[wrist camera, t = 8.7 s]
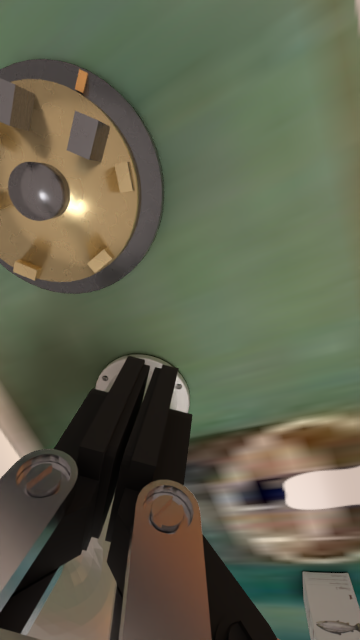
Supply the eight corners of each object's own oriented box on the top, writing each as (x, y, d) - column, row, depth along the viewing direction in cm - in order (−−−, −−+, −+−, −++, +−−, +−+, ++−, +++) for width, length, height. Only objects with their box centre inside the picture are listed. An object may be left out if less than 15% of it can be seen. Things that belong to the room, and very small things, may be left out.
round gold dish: (112, 301, 37) (97, 317, 33) (-38, 239, 37) (-75, 248, 32) (167, 132, 30) (157, 123, 26) (-19, 51, 29) (-63, 27, 25)
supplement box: (348, 571, 53) (384, 680, 41) (346, 598, 55) (380, 709, 44) (301, 569, 54) (322, 675, 42) (301, 596, 56) (322, 703, 45)
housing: (161, 297, 38) (158, 302, 37) (-16, 281, 40) (-26, 285, 39) (168, 67, 30) (165, 61, 28) (-58, 61, 32) (-72, 55, 30)
